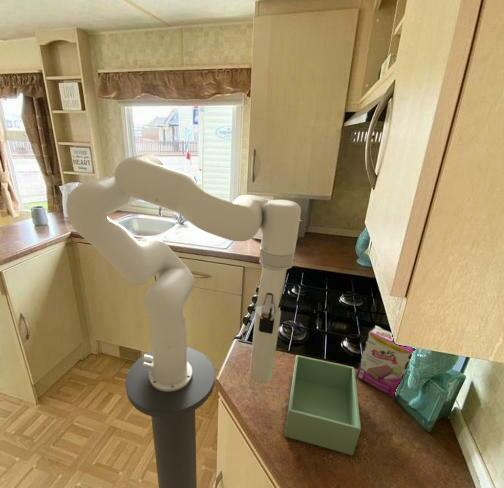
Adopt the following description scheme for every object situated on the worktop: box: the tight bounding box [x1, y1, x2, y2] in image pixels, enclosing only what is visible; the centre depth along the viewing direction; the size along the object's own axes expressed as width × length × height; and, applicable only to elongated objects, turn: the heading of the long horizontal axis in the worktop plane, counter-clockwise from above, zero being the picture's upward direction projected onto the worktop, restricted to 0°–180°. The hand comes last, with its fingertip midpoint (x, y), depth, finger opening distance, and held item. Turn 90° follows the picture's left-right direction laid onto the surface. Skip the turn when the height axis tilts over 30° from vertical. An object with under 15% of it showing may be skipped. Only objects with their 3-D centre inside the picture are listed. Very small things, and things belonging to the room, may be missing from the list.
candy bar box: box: [355, 325, 417, 399], centre depth 86 cm, size 11×5×16 cm, turn 44°
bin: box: [284, 354, 362, 456], centre depth 78 cm, size 15×19×9 cm
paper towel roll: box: [248, 304, 282, 385], centre depth 80 cm, size 7×6×21 cm
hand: (268, 321), depth 77 cm, fingers closed on paper towel roll, 8 cm apart
